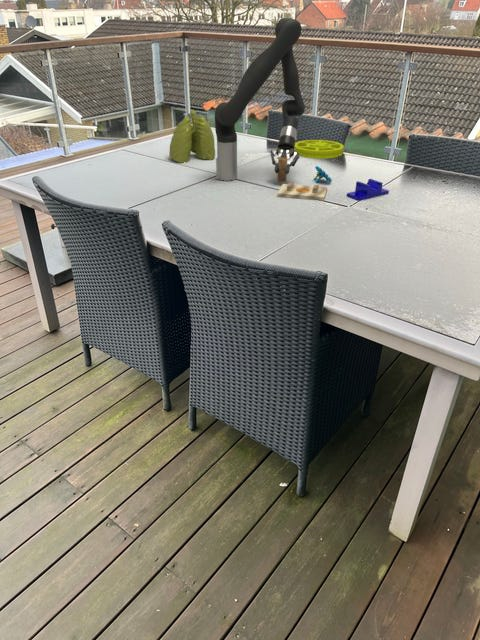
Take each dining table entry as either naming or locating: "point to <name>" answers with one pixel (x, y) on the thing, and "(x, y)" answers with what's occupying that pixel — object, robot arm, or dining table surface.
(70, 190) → the dining table surface
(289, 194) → the plate
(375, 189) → the mounting bracket
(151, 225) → the dining table surface
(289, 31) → the robot arm
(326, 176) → the gear
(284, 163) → the pin
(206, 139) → the lungs
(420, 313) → the dining table surface
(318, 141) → the pulley
